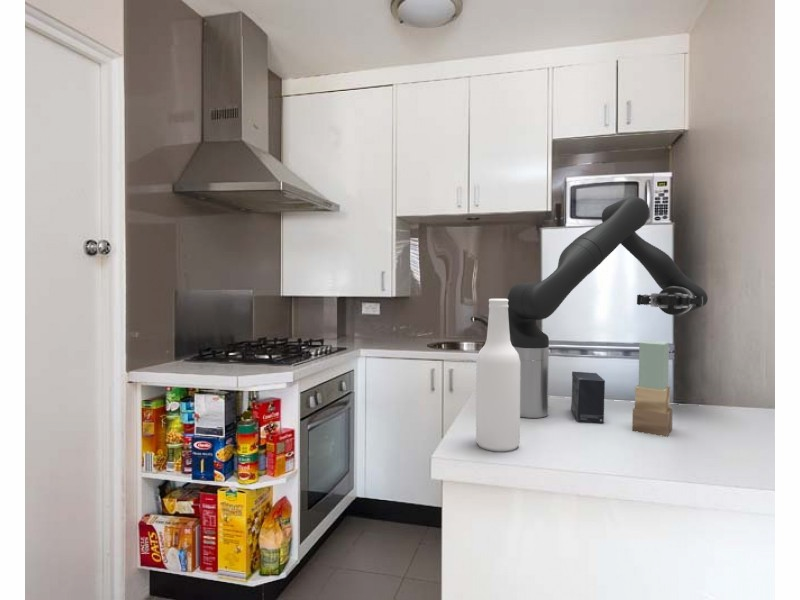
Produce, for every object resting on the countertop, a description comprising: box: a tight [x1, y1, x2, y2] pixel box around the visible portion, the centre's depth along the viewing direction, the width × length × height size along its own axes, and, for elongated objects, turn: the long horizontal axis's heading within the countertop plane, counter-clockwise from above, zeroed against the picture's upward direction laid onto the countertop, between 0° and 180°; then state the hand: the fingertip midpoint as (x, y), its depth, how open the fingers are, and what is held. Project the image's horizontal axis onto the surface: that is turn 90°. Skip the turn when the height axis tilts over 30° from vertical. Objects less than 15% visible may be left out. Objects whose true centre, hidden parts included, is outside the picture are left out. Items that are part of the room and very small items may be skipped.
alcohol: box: [475, 298, 521, 453], centre depth 99 cm, size 9×9×30 cm
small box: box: [570, 371, 606, 424], centre depth 120 cm, size 11×6×10 cm, turn 168°
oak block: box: [634, 384, 671, 414], centre depth 109 cm, size 6×6×5 cm
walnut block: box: [631, 406, 674, 438], centre depth 109 cm, size 7×7×5 cm
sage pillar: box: [638, 340, 670, 390], centre depth 109 cm, size 5×5×10 cm
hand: (664, 300), depth 116 cm, fingers open, 8 cm apart
